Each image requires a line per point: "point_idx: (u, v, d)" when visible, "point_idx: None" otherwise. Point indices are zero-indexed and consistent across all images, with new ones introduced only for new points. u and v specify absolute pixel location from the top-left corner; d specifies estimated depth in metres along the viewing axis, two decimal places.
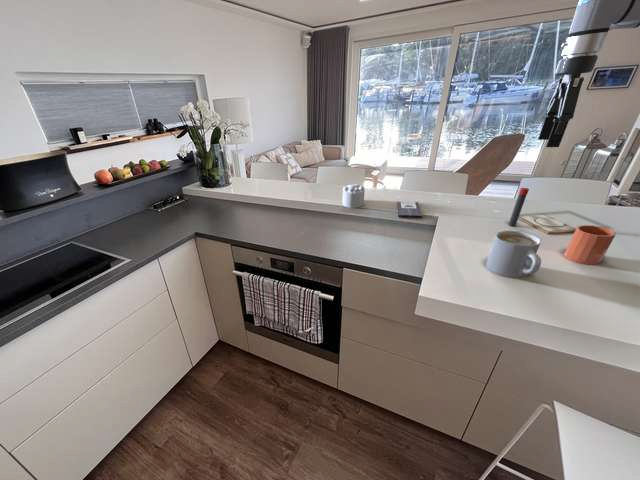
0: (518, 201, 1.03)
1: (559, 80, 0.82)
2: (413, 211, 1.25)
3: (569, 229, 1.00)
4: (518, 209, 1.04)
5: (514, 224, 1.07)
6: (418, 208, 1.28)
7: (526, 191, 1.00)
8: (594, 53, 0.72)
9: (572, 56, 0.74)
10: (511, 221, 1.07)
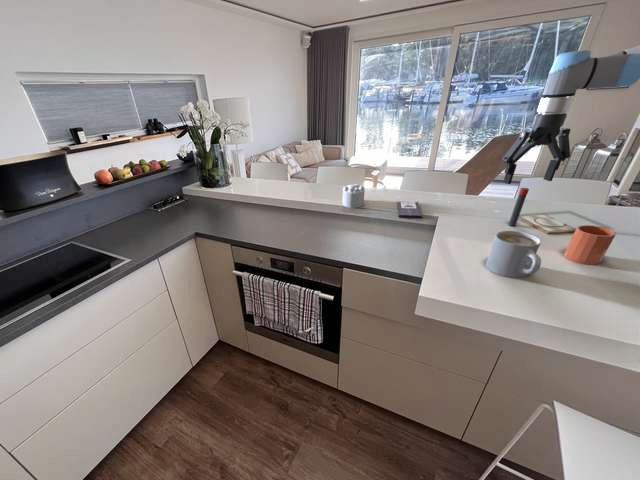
0: (518, 201, 1.03)
1: None
2: (413, 211, 1.25)
3: (569, 229, 1.00)
4: (518, 209, 1.04)
5: (514, 224, 1.07)
6: (418, 208, 1.28)
7: (526, 191, 1.00)
8: (551, 113, 0.87)
9: None
10: (511, 221, 1.07)
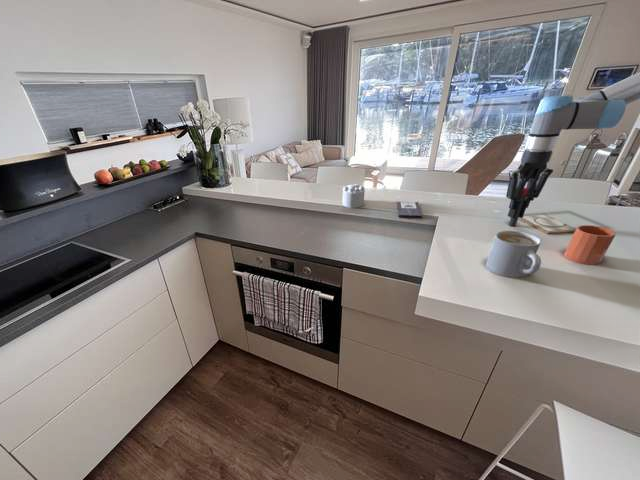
0: None
1: None
2: (413, 211, 1.25)
3: (569, 229, 1.00)
4: (518, 209, 1.04)
5: (514, 224, 1.07)
6: (418, 208, 1.28)
7: (526, 191, 1.00)
8: (537, 150, 0.92)
9: None
10: (511, 221, 1.07)
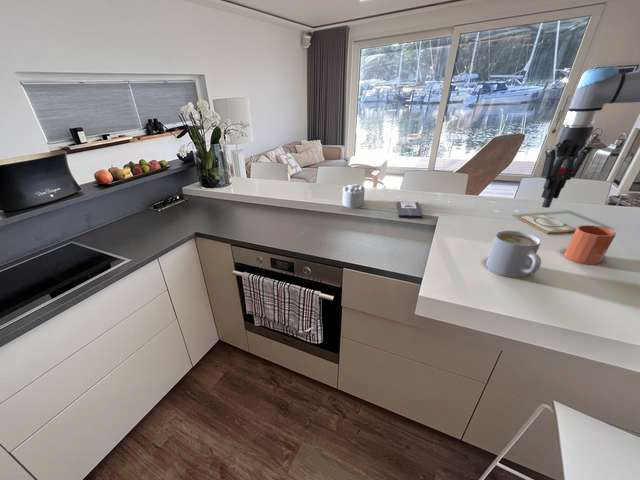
0: None
1: None
2: (413, 211, 1.25)
3: (569, 229, 1.00)
4: (553, 189, 1.01)
5: (548, 205, 1.04)
6: (418, 208, 1.28)
7: (563, 170, 0.97)
8: (578, 126, 0.89)
9: (565, 125, 0.93)
10: (545, 202, 1.04)
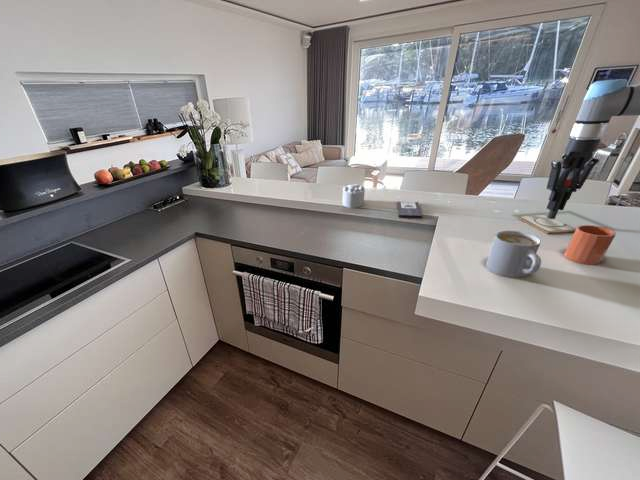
0: None
1: None
2: (413, 211, 1.25)
3: (569, 229, 1.00)
4: (559, 201, 0.99)
5: (554, 216, 1.02)
6: (418, 208, 1.28)
7: (569, 181, 0.96)
8: (585, 138, 0.88)
9: None
10: (550, 213, 1.02)
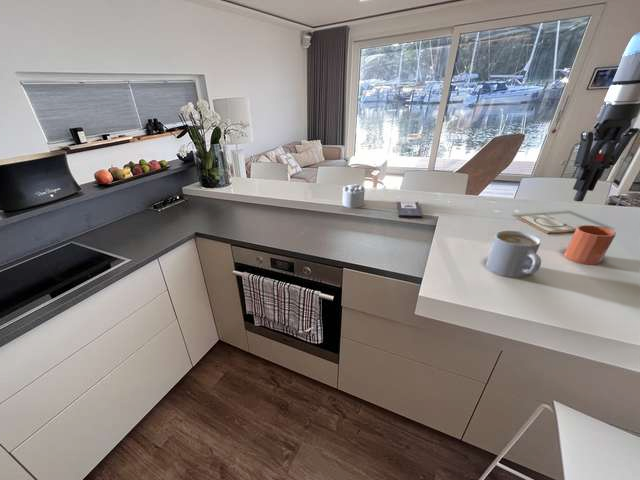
0: None
1: None
2: (413, 211, 1.25)
3: (569, 229, 1.00)
4: (589, 179, 0.86)
5: (582, 198, 0.89)
6: (418, 208, 1.28)
7: (601, 156, 0.82)
8: (623, 102, 0.74)
9: (606, 103, 0.78)
10: (578, 195, 0.89)
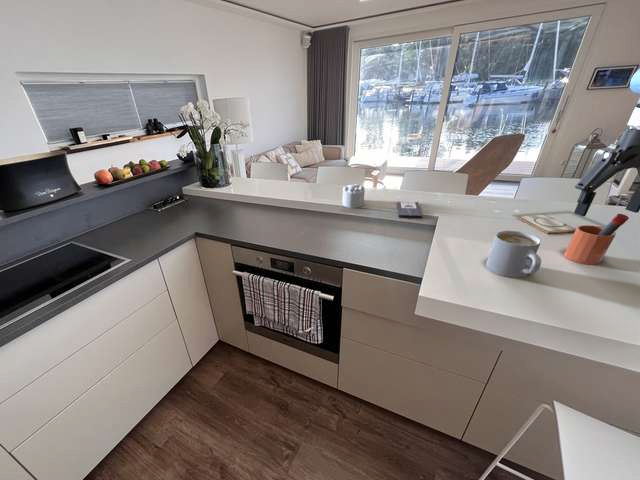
0: (607, 230, 0.78)
1: None
2: (413, 211, 1.25)
3: (569, 229, 1.00)
4: None
5: None
6: (418, 208, 1.28)
7: (624, 221, 0.75)
8: None
9: None
10: None
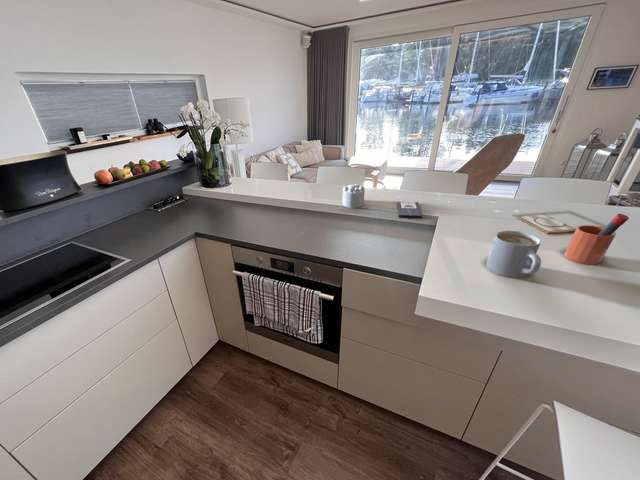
0: (607, 230, 0.78)
1: None
2: (413, 211, 1.25)
3: (569, 229, 1.00)
4: None
5: None
6: (418, 208, 1.28)
7: (624, 221, 0.75)
8: None
9: None
10: None
